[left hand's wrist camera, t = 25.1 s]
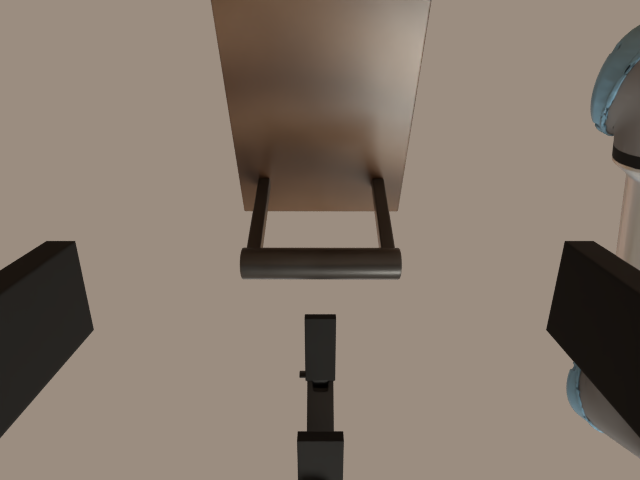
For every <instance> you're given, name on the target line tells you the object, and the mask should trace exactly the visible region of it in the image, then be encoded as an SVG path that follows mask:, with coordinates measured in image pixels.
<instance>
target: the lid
mask: <svg viewBox="0 0 640 480" xmlns="http://www.w3.org/2000/svg"><path fill="white" fill-rule="evenodd" d="M211 4H212V10H213V16H214V22H215V29H216V35H217V41H218V48H219V54H220V60H221V66H222V72H223V79H224V85H225V91H226V98H227V104H228V110H229V116H230V123H231V129H232V135H233V141H234V148H235V154H236V160H237V166H238V173H239V179H240V185H241V191H242V197H243V204H244V210H245V211H253V214H252V220H251V226H250V232H249V238H248V244H247V248H242V251H241V255H240V273H241V277H242V279H399V278H400V276H401V269H402V260H401V252H400V249H399V248H395V246H394V240H393V234H392V227H391V221H390V215H389V211H398V206H399V200H400V194H401V187H402V181H403V175H404V168H405V162H406V156H407V150H408V143H409V137H410V131H411V125H412V118H413V112H414V106H415V100H416V93H417V87H418V81H419V74H420V68H421V62H422V56H423V49H424V43H425V37H426V30H427V24H428V18H429V12H430V5H431V0H211ZM268 211H375V219H376V227H377V235H378V243H379V248H263V242H264V235H265V227H266V219H267V212H268Z"/></svg>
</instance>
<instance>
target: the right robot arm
mask: <svg viewBox="0 0 640 480" xmlns="http://www.w3.org/2000/svg"><path fill="white" fill-rule="evenodd" d="M591 117H592V120H593V122H594V123H595V126H596V128H597V129H598V130H599V131H601V132H603V133H604V134H606V135H608V136H614V143H613V152H612V160H613V162H614V163H615V164H616V165H618V166H619V167H620V168H621V169H622V170H623V171H624V172H625V173H626V181H625V189H624V196H623V204H622V212H621V220H620V227H619V235H618V243H617V251H616V256H618V257H619V258H621V259H622V260H624V261H626V262H627V263H629V264H630V265H632V266H634V267H635V268H637V269H638V270H640V25H639V26H637V27H636V28H634V29H633V30H631V31H630V32H629V33H628V34H627V35H625V36H624V37H623V38H622V39H621V41H620V42H619V43H618V44H617V45H616V47H615V48H614V50H613V52H612V53H611V54H609V56H608V57H607V59H606V61H605V62H604V64H603V66H602V68H601V70H600V72H599V75H598V77H597V80H596V82H595V86H594V89H593V93H592V98H591ZM335 349H336V315H335V314H305V371H300V378H306V381H308V382H307V431H305V432H304V431H301V432H300V431H298V437H297V453H298V480H343V450H344V438H343V432H341V431H338V432H337V431H334V415H333V414H334V412H333V381H335ZM573 364H574V367H573V369H570V371H569V374H568V378H567V397H568V400H569V403H570V405H571V407H572V408H573V409H574V411H575V412H576V413H577V414H578V415H580V416H581V417H582V418H584V419H585V420H586V421H588V423H589V424H590V425H591V426H592V427H593V428H595V429H596V430H598V431H600V432H602V433H605V434H606V435H608V436H609V437H610V438H612V439H613V440H615V441H616V442H618V443H619V444H620V445H622V446H623V447H625V448H626V449H628V450H629V451H630V452H632V453H633V454H634V455H636V456H638V457H639V458H640V438H639V436H638V435H637V434H636V433H635V432H634V431H633V430H632V428H631V427H630V426H629V425H628V424H627V423H626V421H625V420H624V419H623V418H622V417H621V416H620V415H619V413H618V412H617V411H616V410H615V409H614V408H613V406H612V405H611V404H610V403H609V402H608V401H607V399H606V398H605V397H604V396H603V395H602V394H601V393H600V391H599V390H598V389H597V388H596V387H595V386H594V384H593V383H592V382H591V381H590V380H589V379H588V377H587V376H586V375H585V374H584V373H583V372H582V371H581V369H580V368H579V367H578V366H577V365H576V364H575V362H573Z"/></svg>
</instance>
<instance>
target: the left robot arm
mask: <svg viewBox="0 0 640 480" xmlns="http://www.w3.org/2000/svg"><path fill="white" fill-rule="evenodd" d="M93 330H94V329H93V324H92V319H91V315H90V310H89V305H88V300H87V295H86V291H85V286H84V281H83V277H82V272H81V267H80V262H79V257H78V253H77V248H76V243H75V241H46V242H44V243H43V244H41V245H40V246H38V247H36V248H35V249H33V250H32V251H30V252H29V253H27V254H25V255H24V256H22V257H21V258H19V259H18V260H16V261H14V262H13V263H11V264H10V265H8V266H7V267H5V268H3V269H2V270H0V438H1V436H2V435H3V434H4V433H5V432H6V431H7V429H8V428H9V427H10V426H11V425H12V424H13V423H14V421H15V420H16V419H17V418H18V417H19V416H20V415H21V413H22V412H23V411H24V410H25V409H26V408H27V406H28V405H29V404H30V403H31V402H32V401H33V399H34V398H35V397H36V396H37V395H38V394H39V393H40V391H41V390H42V389H43V388H44V387H45V386H46V384H47V383H48V382H49V381H50V380H51V379H52V377H53V376H54V375H55V374H56V373H57V372H58V371H59V369H60V368H61V367H62V366H63V365H64V364H65V362H66V361H67V360H68V359H69V358H70V357H71V356H72V354H73V353H74V352H75V351H76V350H77V349H78V347H79V346H80V345H81V344H82V343H83V342H84V340H85V339H86V338H87V337H88V336H89V335H90V334H91V332H92V331H93ZM546 330H547V331H548V332H549V334H550V335H551V336H552V337H553V338H554V339H555V340H556V342H557V343H558V344H559V345H560V346H561V347H562V349H563V350H564V351H565V352H566V353H567V354H568V356H569V357H570V358H571V359H572V360H573V361H574V362H575V364H576V365H577V366H578V367H579V368H580V369H581V371H582V372H583V373H584V374H585V375H586V376H587V377H588V379H589V380H590V381H591V382H592V383H593V384H594V386H595V387H596V388H597V389H598V390H599V391H600V393H601V394H602V395H603V396H604V397H605V398H606V399H607V401H608V402H609V403H610V404H611V405H612V406H613V408H614V409H615V410H616V411H617V412H618V413H619V415H620V416H621V417H622V418H623V419H624V420H625V421H626V423H627V424H628V425H629V426H630V427H631V428H632V430H633V431H634V432H635V433H636V434H637V435H638V436H639V438H640V270H638V269H637V268H635V267H634V266H632V265H630V264H629V263H627V262H626V261H624V260H622V259H621V258H619V257H618V256H616V255H615V254H613V253H611V252H610V251H608V250H607V249H605V248H604V247H602V246H600V245H599V244H597V243H596V242H594V241H565V243H564V248H563V253H562V257H561V262H560V267H559V272H558V276H557V281H556V286H555V291H554V295H553V300H552V305H551V310H550V315H549V319H548V324H547V329H546Z"/></svg>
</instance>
